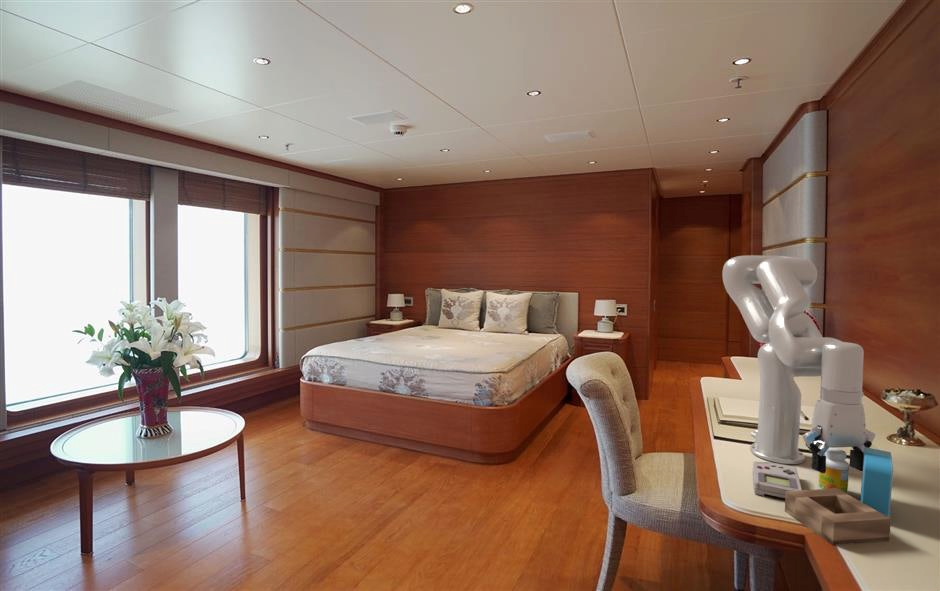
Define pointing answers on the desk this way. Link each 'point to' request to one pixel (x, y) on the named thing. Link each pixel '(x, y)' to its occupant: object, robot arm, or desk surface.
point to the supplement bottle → (835, 471)
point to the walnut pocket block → (837, 516)
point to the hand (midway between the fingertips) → (837, 469)
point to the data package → (877, 480)
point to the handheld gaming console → (775, 479)
